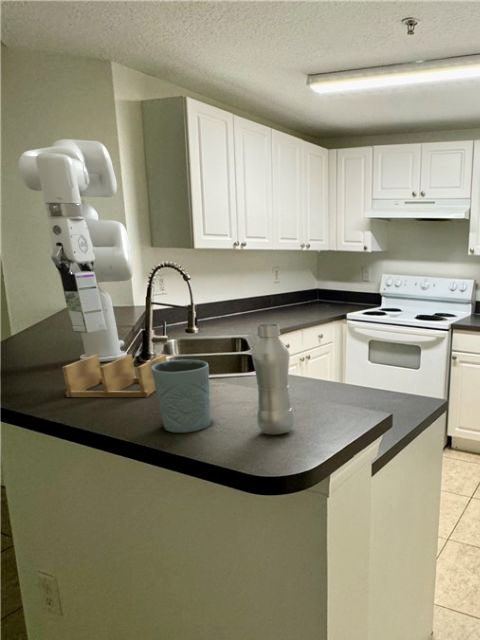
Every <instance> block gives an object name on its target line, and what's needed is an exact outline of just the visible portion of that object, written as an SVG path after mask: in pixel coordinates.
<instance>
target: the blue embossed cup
mask: <svg viewBox="0 0 480 640" xmlns="http://www.w3.org/2000/svg"><path fill="white" fill-rule="evenodd" d="M151 369H152V374H153V378H154V383H155V388H156V391H155V393H156V397H157V400H158V406H159V410H160V414H161V419H162V423H163V428H164V429H165V431H167V432H171V433H178V434H179V433H181V434H183V433H192V432H197V431H201V430H204V429H206V428H208V427H209V426H210V425H211V422H212V421H211V420H212V419H211V400H210V396H211V395H210V394H211V393H210V368H209V363H208V362H207V361H205V360H201V359H174V360H166V362H161V363H157V364H155V365H153V366H152V367H151Z"/></svg>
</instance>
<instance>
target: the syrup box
mask: <svg viewBox="0 0 480 640" xmlns="http://www.w3.org/2000/svg"><path fill="white" fill-rule="evenodd" d="M73 274H75V277H76V282H77V287H78V291H77V292H65V291H64V290H63V289H62V291H63V295H64V300H65V303H66V308H67V313H68V316H69V321H70V326H71V329H72V332H73V333H80V334H81V333H93V332H99V331H104V330H106V324H105V320H104V315H103V311H102V306H101V301H100V297H99V292H98V287H97V282H96V278H95V273H94V272H74V271H73ZM59 279H60V283H61V287H62V288H63V285H62V280H61V275H60V274H59Z"/></svg>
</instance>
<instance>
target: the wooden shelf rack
mask: <svg viewBox="0 0 480 640" xmlns="http://www.w3.org/2000/svg"><path fill="white" fill-rule="evenodd" d="M166 361H167V355H166V354H164V353H163V354H160V355H159V356H157V357H154V358H153V359H151V360H149V361H147V362H145V363H142V364H140V365H139V366H137V367H136V368H135V364H134V358H133V354H132V353H129V354H127V355H126V356H124V357H122V358H119V359H117V360H114V361H109V362H108V363H106V364H103V365H101V362H100V361H99V356H98V354H95V355H92V356H90V357H87V358H84V359H82V360H80V359H79V360H76V361H74V362H72V363H68V364H66V365H64V366H62V367H61V368H62V373H63V377H64V382H65V387H66V391H65V394H66V398H148V397H150V395H151V394H153V393H154V392H156V388H155V383H154V378H153V374H152V369H151V367H152V366H153V365H155V364H157V363H161V362H166ZM135 369H136V370H137V375H136V370H135ZM101 383H102V387H103V388H102V389H103V390H90V389H92V388H93V387H95V386H97V385H100V384H101ZM133 384H139V387H140V390H124V389H126V388H128V387H130V386H131V385H133Z"/></svg>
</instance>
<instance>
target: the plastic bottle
mask: <svg viewBox="0 0 480 640" xmlns="http://www.w3.org/2000/svg"><path fill="white" fill-rule="evenodd" d="M256 328H257V337H259V339H258V341H257V343H256V344H255V346H254V347H253V350H252V354H251V358H252V363H253V364H252V365H253V369H254V372H255V376H256V384H257V390H258V395H257V396H258V397H257V402H258V404H257V405H258V406H257V407H258V409H257V414H256V416H257V418H256V423H257V426H258V429H259V430H260V431H261V433H263V434H264V435H265V434H266V435H282V434H287V433H288V432H290V431H292V428H293V426H294V421H295V417H294V411H293V408H292V406H291V405H292V404H291V398H290V392H289V371H290V359H291V358H290V355H291V354H290V352H289V349H288V348H287V346H286V345H285V343H284V342H283V341H282V340H281V339H280V336H281V331H280V325H279V324H278V323H260V324H257V327H256Z"/></svg>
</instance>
